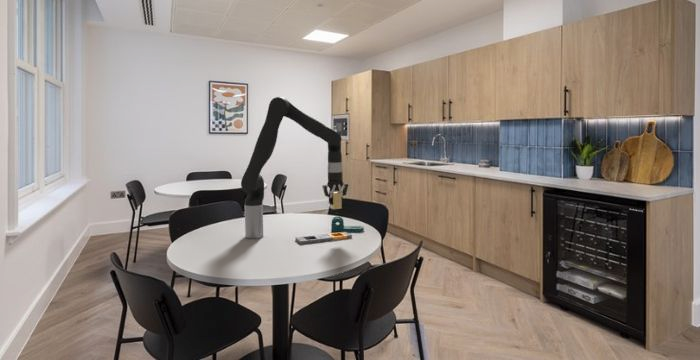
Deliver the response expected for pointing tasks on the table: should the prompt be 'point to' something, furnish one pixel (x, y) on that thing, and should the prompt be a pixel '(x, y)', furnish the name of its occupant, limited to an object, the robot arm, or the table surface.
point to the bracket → (343, 228)
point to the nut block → (336, 201)
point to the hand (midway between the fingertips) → (335, 204)
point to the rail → (323, 237)
